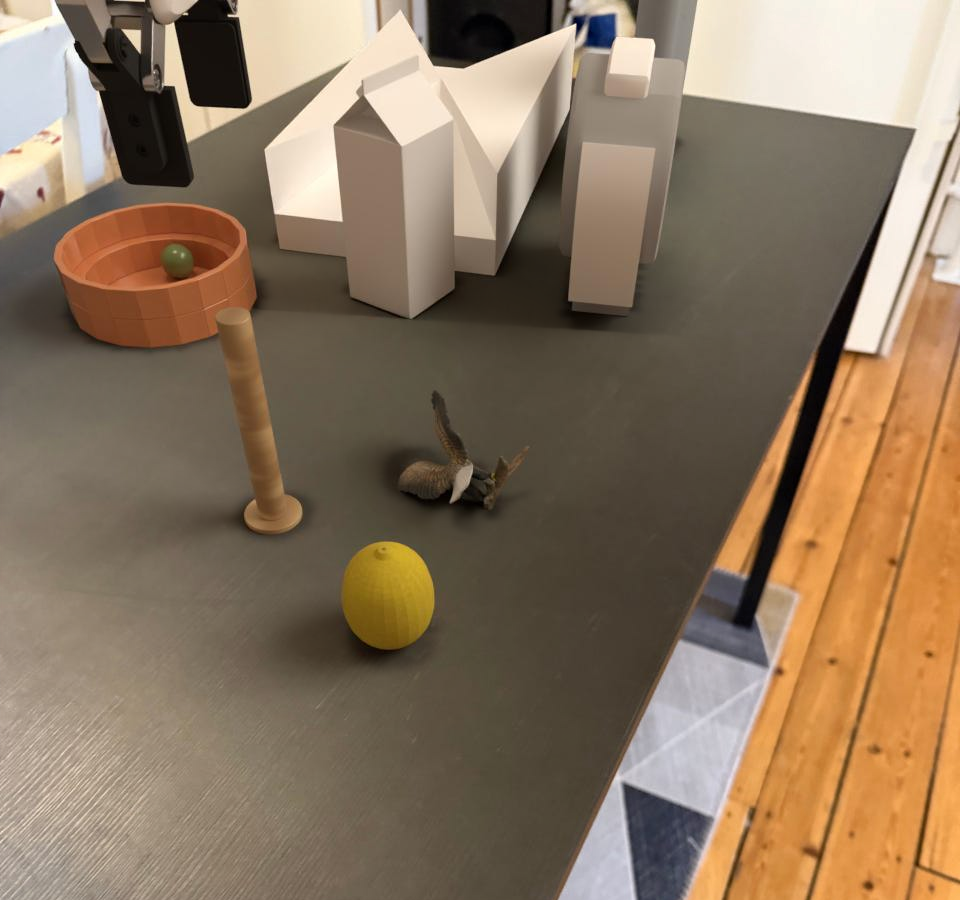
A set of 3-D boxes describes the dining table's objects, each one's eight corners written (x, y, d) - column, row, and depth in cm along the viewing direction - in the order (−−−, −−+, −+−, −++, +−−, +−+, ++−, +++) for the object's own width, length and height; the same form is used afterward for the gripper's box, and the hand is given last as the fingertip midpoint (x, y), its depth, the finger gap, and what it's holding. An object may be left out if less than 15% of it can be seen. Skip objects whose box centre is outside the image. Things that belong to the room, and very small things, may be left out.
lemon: (334, 663, 57) (319, 570, 51) (367, 601, 60) (357, 507, 54) (418, 684, 56) (413, 592, 50) (447, 620, 59) (446, 527, 53)
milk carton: (455, 290, 87) (453, 63, 73) (410, 321, 83) (398, 89, 69) (396, 268, 90) (383, 46, 75) (349, 298, 86) (326, 70, 72)
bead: (160, 283, 86) (152, 252, 83) (170, 267, 88) (162, 236, 85) (191, 285, 86) (184, 254, 83) (201, 269, 87) (194, 238, 85)
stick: (240, 541, 64) (188, 331, 52) (255, 503, 66) (209, 296, 54) (296, 545, 64) (257, 336, 52) (309, 507, 66) (275, 300, 54)
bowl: (47, 349, 80) (22, 283, 75) (114, 260, 90) (96, 198, 86) (230, 361, 79) (216, 295, 74) (276, 270, 89) (266, 207, 85)
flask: (638, 141, 111) (673, -124, 93) (675, 146, 111) (719, -120, 92) (605, 199, 101) (638, -87, 82) (647, 205, 100) (689, -83, 81)
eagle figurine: (538, 466, 68) (443, 405, 70) (524, 431, 61) (419, 364, 63) (477, 550, 68) (384, 486, 70) (457, 524, 61) (354, 454, 63)
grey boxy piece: (571, 239, 94) (592, 7, 79) (654, 246, 93) (691, 14, 78) (549, 329, 83) (568, 78, 67) (644, 339, 82) (685, 87, 67)
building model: (494, 275, 89) (497, 173, 82) (279, 248, 92) (264, 148, 85) (569, 109, 118) (576, 23, 111) (404, 93, 121) (400, 8, 114)
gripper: (77, -382, 38) (176, 78, 51) (-156, -374, 27) (46, 215, 40) (253, -379, 38) (308, 84, 51) (92, -370, 26) (215, 225, 39)
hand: (193, 141), depth 45 cm, fingers open, 9 cm apart
